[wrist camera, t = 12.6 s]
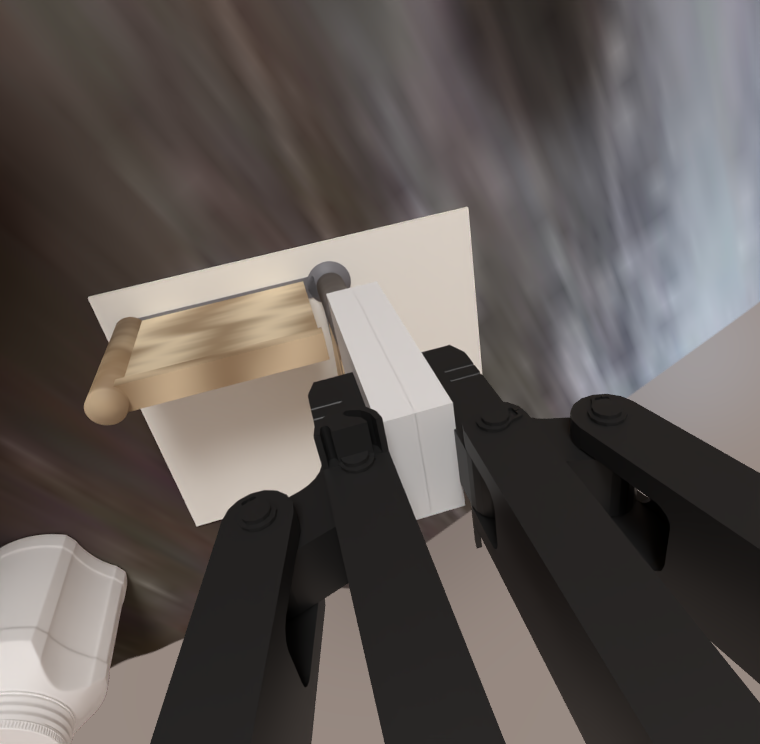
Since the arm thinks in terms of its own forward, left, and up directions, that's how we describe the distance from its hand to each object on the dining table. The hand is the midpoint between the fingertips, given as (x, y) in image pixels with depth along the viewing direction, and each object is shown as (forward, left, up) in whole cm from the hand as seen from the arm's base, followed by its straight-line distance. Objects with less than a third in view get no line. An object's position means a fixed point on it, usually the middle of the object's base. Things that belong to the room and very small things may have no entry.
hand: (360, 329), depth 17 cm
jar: (-28, -29, -25) cm, 47 cm away
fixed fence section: (-7, -8, -24) cm, 27 cm away
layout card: (-2, -16, -24) cm, 29 cm away
